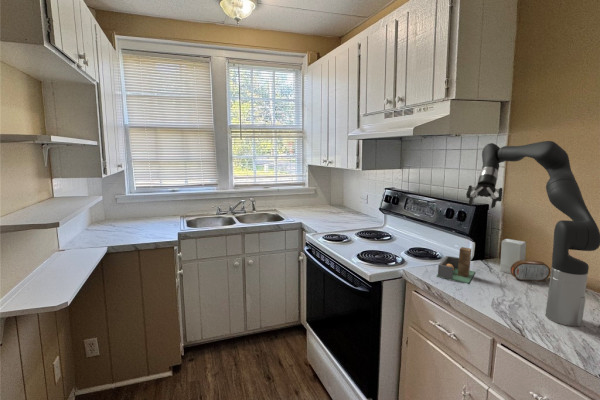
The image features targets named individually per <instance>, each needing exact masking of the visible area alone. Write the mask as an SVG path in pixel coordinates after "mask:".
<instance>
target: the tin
mask: <svg viewBox="0 0 600 400" xmlns="http://www.w3.org/2000/svg"><path fill="white" fill-rule="evenodd" d="M510 271H511V275H512V277H514V278H516V279H517V280H519V281H528V282H529V281H531V282H542V281H546V280H547V279H548V278H550V275H551V268H550V267H549V266H548V265H547V264H546V263H545V262H544V261H538V260H537V261H536V260H525V261H523V260H520V261H517V262H515V263H514V264H513V265H512V266H511V269H510Z"/></svg>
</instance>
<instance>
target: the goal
mask: <svg viewBox="0 0 600 400" xmlns="http://www.w3.org/2000/svg"><path fill="white" fill-rule="evenodd" d="M446 264H452V265H453V267H454V271H453V267H449V266H445V265H446ZM458 265H459V257H455V256H450V255H446V256H445V257H444V258H443V259H442V261H440V262H439V264H438V268H437V274H436V276H437V277H436V276H435V277H436V278H441V277H442V278H441V279H445V278H446V280H450V281H454V280H455V281H454V282H459V281H460V283H465V284H470V282H471V280H472V279H473V276H474V275H475V273H476V272H475V271H474V270H470V271H469V276H468V277H463V276H458Z"/></svg>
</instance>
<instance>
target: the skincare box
mask: <svg viewBox="0 0 600 400" xmlns="http://www.w3.org/2000/svg"><path fill="white" fill-rule="evenodd" d="M526 245H527V242H526V241H522V240H516V239H511V238H505V239H502V240H501V246H500V247H501V248H500V249H501V250H500V251H501V252H500V266H499V271H500V272H502V273H507V274H511V271H510V269H511V266H512V265H513V264H514V263H515V262H517V261H520V260H523V261H526V249H527V248H526ZM511 275H512V274H511Z"/></svg>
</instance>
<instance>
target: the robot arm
mask: <svg viewBox="0 0 600 400" xmlns="http://www.w3.org/2000/svg"><path fill="white" fill-rule="evenodd" d="M481 158H482V167H481V169H480V170H481V171H480V173H479V176H478V179H477V183H476V186H472V185H468V188H467V190H466V193H465V195H466V199H468V205H469V206H470V207H473V203H474V199H476V198H478V197H480V198H481V197H485V198H490V199H491V204H490V209H494V208H495V207H496V206H497V205H496V204H497V202H502V200H503V187H499V188H496V186H497V181H498V177H499V169H500V163H504V162H519V161H521V160H522V161H523V159H524V158H531V159H534V160H535V161H536V162H537V164H539V165H540V166H541V167H543V169H545V170H546V172H547V174H548V176H549V179H548V180H547V181H546V183H545V184H546V185H545V190H546V193H547V198H548V200H549V202H550V204H551V205H552V206H553V207H555V209H557V210H559V212H561V213H563V214H564V215H566V216H567V217H568V218H570V219H571V220H564V219H563V220H562V219H561V220H558V221H557V222H556V224H555V226H554V230H553V245H552V255H551V258H552V259H551V260H552V261H551V268H550V274H549V285H548V292H547V299H546V300H547V301H546V308H545V314H544V315H545V317H546V318H547V319H548V320H550V321H551V322H554V323H557V324H561V325H565V326H569V327H579V328H580V327H581V328H582V325H583V318H584V311H585V304H586V297H585V296H586V295H585V294H586V289H587V282H588V277H589V276H588V275H589V267H590V266H589V264H588V263H587V262H585V261H584V260H582V259H579V258H576V257H574V256H572V255H570V252H569V250H570V251H571V250H572V251H580V252H581V251H582V252H583V251H584V252H594V251H596V250H598V249H599V248H600V229H599V226H598V225H597V223H596V221H595V219H594V217H593V216H592V214H591V213H590V211H589V209H588V206H587V205H586V202H585V200H584V198H583V196H582V191H581V189H580V187H579V185H578V181H577V180H576V178H575V176H574V173H573V171H572V168H571V164H570V157H569V154H568V152H567V151H566V150H565V149H564V148H562V146H560V145H559V144H558V143H556V142H555V141H552V140H545V141H543V140H542V141H538V142H533V143H527V144H524V145H507V146H506V145H504V146H501V147H499V146H498V145H497V144H495V143H493V142H492V143H488V144H486V145H485V146H484V147H483V149H482V151H481ZM472 192H473V193H472ZM495 193H496V194H497V195H498V196H496V195H495Z"/></svg>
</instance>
